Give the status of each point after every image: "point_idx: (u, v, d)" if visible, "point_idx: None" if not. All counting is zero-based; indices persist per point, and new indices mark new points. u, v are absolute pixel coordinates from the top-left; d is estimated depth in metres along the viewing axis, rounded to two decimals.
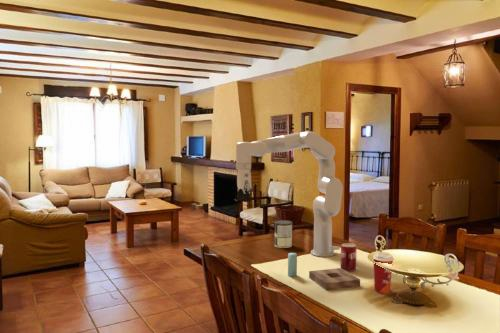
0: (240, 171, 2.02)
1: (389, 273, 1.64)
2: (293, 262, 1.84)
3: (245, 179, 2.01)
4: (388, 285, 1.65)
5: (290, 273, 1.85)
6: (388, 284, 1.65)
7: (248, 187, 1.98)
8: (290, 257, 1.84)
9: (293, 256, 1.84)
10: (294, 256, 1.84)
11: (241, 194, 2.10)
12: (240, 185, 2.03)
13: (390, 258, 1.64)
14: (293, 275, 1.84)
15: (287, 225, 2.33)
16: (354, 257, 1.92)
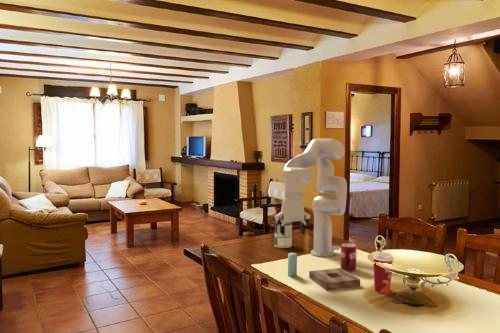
0: (299, 201, 1.82)
1: (389, 273, 1.64)
2: (293, 262, 1.84)
3: None
4: (388, 285, 1.65)
5: (290, 273, 1.85)
6: (388, 284, 1.65)
7: None
8: (290, 257, 1.84)
9: (293, 256, 1.84)
10: (294, 256, 1.84)
11: None
12: (298, 217, 1.83)
13: (390, 258, 1.64)
14: (293, 275, 1.84)
15: (287, 225, 2.33)
16: (354, 257, 1.92)
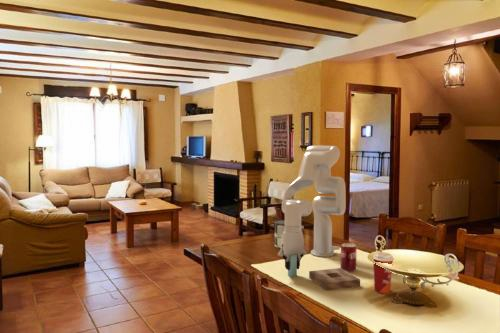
0: (299, 234, 1.83)
1: (389, 273, 1.64)
2: (293, 262, 1.84)
3: None
4: (388, 285, 1.65)
5: (290, 273, 1.85)
6: (388, 284, 1.65)
7: None
8: (290, 257, 1.84)
9: (293, 256, 1.84)
10: (294, 256, 1.84)
11: None
12: (298, 250, 1.84)
13: (390, 258, 1.64)
14: (293, 275, 1.84)
15: None
16: (354, 257, 1.92)
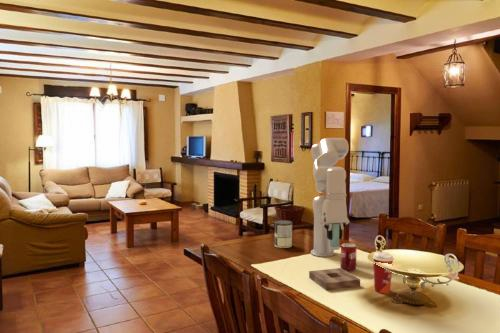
0: (342, 202, 1.74)
1: (389, 273, 1.64)
2: (336, 231, 1.75)
3: None
4: (388, 285, 1.65)
5: (332, 243, 1.75)
6: (388, 284, 1.65)
7: None
8: (332, 226, 1.75)
9: (336, 225, 1.75)
10: (337, 225, 1.75)
11: None
12: (341, 218, 1.75)
13: (390, 258, 1.64)
14: (336, 245, 1.75)
15: (287, 225, 2.33)
16: (354, 257, 1.92)
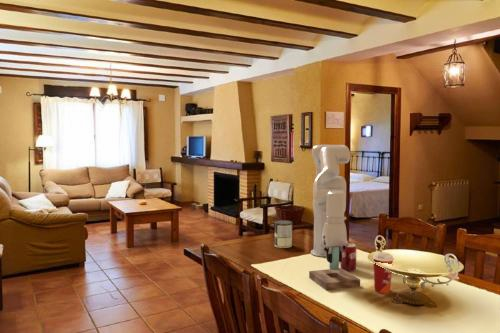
0: (342, 225, 1.75)
1: (389, 273, 1.64)
2: (336, 254, 1.75)
3: None
4: (388, 285, 1.65)
5: (332, 266, 1.76)
6: (388, 284, 1.65)
7: None
8: (332, 249, 1.76)
9: (336, 248, 1.75)
10: (337, 248, 1.75)
11: None
12: (341, 242, 1.75)
13: (390, 258, 1.64)
14: (335, 268, 1.76)
15: (287, 225, 2.33)
16: (354, 257, 1.92)
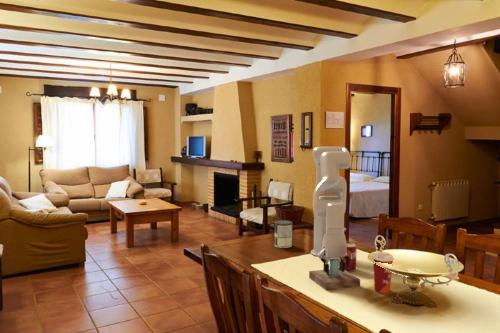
0: (342, 237, 1.75)
1: (389, 273, 1.64)
2: (335, 267, 1.76)
3: None
4: (388, 285, 1.65)
5: None
6: (388, 284, 1.65)
7: None
8: (332, 263, 1.76)
9: (335, 262, 1.76)
10: (336, 262, 1.76)
11: None
12: (341, 253, 1.76)
13: (390, 258, 1.64)
14: None
15: (287, 225, 2.33)
16: (354, 257, 1.92)
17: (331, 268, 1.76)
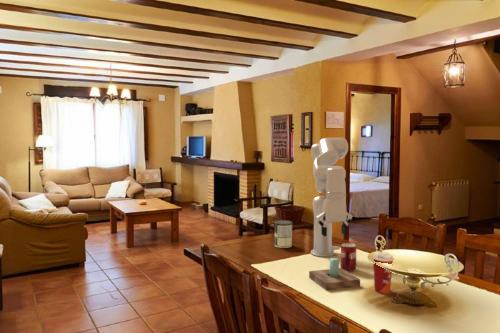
0: (342, 201, 1.76)
1: (389, 273, 1.64)
2: (335, 267, 1.76)
3: None
4: (388, 285, 1.65)
5: None
6: (388, 284, 1.65)
7: None
8: (332, 263, 1.76)
9: (335, 262, 1.76)
10: (336, 262, 1.76)
11: None
12: (341, 217, 1.76)
13: (390, 258, 1.64)
14: None
15: (287, 225, 2.33)
16: (354, 257, 1.92)
17: (331, 268, 1.76)
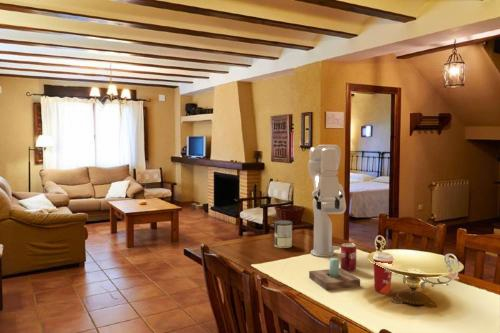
0: (335, 178, 1.96)
1: (389, 273, 1.64)
2: (335, 267, 1.76)
3: None
4: (388, 285, 1.65)
5: None
6: (388, 284, 1.65)
7: None
8: (332, 263, 1.76)
9: (335, 262, 1.76)
10: (336, 262, 1.76)
11: None
12: (334, 193, 1.97)
13: (390, 258, 1.64)
14: None
15: (287, 225, 2.33)
16: (354, 257, 1.92)
17: (331, 268, 1.76)
